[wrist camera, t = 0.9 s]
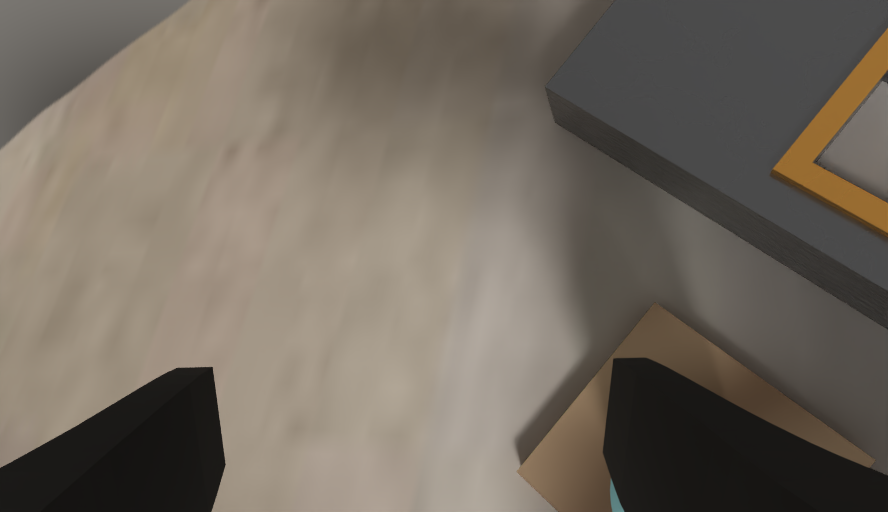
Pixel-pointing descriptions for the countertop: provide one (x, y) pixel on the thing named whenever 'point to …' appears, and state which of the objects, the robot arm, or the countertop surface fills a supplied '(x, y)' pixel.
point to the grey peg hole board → (743, 122)
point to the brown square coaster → (686, 352)
